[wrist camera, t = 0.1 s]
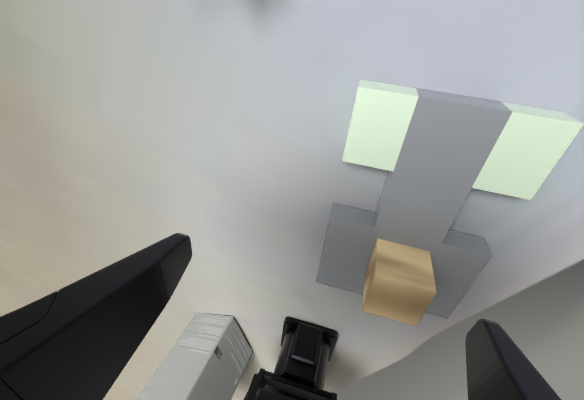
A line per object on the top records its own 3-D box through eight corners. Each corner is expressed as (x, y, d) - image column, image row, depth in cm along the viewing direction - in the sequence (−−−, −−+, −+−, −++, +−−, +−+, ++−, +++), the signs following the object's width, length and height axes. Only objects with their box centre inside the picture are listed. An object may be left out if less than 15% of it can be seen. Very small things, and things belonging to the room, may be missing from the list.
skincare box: (254, 350, 43) (197, 497, 30) (213, 345, 45) (145, 479, 33) (233, 312, 39) (158, 465, 26) (189, 309, 41) (101, 446, 28)
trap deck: (444, 300, 28) (447, 318, 26) (319, 266, 30) (315, 281, 28) (565, 112, 17) (583, 123, 16) (360, 79, 19) (358, 86, 17)
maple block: (412, 284, 25) (416, 326, 22) (365, 272, 26) (362, 310, 22) (429, 251, 23) (436, 292, 19) (377, 238, 23) (375, 276, 20)
